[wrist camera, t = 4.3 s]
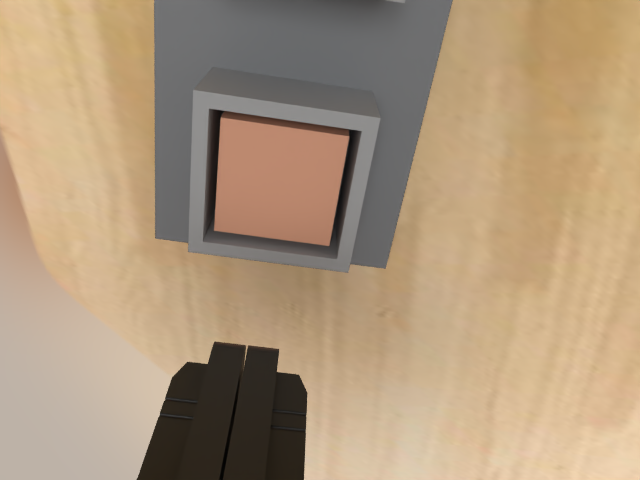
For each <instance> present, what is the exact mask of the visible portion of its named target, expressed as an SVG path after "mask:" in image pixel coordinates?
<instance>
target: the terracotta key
mask: <svg viewBox="0 0 640 480" xmlns="http://www.w3.org/2000/svg"><path fill="white" fill-rule="evenodd" d="M348 141H349V130H348V129H344V128H338V127H331V126H324V125H317V124H311V123H304V122H297V121H290V120H284V119H277V118H270V117H263V116H257V115H250V114H243V113H236V112H230V111H224V113H223V114H222V116H221V121H220V138H219V155H218V173H217V190H216V207H215V224H214V231H220V232H227V233H235V234H242V235H250V236H257V237H265V238H272V239H280V240H288V241H295V242H303V243H310V244H318V245H325V246H329V245H330V239H331V234H332V228H333V223H334V217H335V212H336V206H337V201H338V196H339V190H340V185H341V179H342V174H343V168H344V163H345V157H346V152H347V146H348Z"/></svg>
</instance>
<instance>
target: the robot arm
mask: <svg viewBox="0 0 640 480" xmlns="http://www.w3.org/2000/svg"><path fill="white" fill-rule="evenodd" d="M245 351H246V345H239V344H230V343H222V342H214V344H213V347H212V351H211V354H210V358H209V362H208V364H201V363H193V362H187V363H186V364H185V365H184V366H183V367H182V368H181V369H180V370H179V371H178V372H177V373H176V374H175V375H174V376H173V377H172V380H171V383H170V386H169V388H168V392H167V394H166V398H165V401H164V403H163V406H162V409H161V412H160V416H159V418H158V420H157V423H156V426H155V429H154V432H153V435H152V438H151V441H150V444H149V446H148V449H147V452H146V455H145V458H144V461H143V464H142V467H141V470H140V473H139V475H138V478H137V480H304V462H305V438H306V433H305V432H306V413H307V391H306V389H305V387H304V385H303V383H302V380H301V378H300V376H299V375H296V374H288V373H279V372H277V365H278V356H279V349H273V348H265V347H256V346H248V349H247V355H246V360H245ZM244 361H245V365H244Z"/></svg>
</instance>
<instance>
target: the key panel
mask: <svg viewBox="0 0 640 480" xmlns="http://www.w3.org/2000/svg"><path fill="white" fill-rule="evenodd" d="M451 4H452V0H154V36H155V238H156V239H163V240H171V241H178V242H186V243H188V252H193V253H200V254H208V255H216V256H224V257H231V258H239V259H247V260H254V261H262V262H270V263H277V264H285V265H293V266H301V267H308V268H316V269H324V270H331V271H339V272H347V273H348V271H349V267H350V264H354V265H362V266H369V267H377V268H384V269H386V265H387V261H388V257H389V253H390V249H391V245H392V241H393V237H394V233H395V229H396V225H397V221H398V217H399V213H400V209H401V205H402V201H403V197H404V193H405V189H406V185H407V181H408V177H409V173H410V169H411V165H412V161H413V157H414V153H415V149H416V145H417V141H418V137H419V133H420V129H421V125H422V121H423V117H424V113H425V109H426V105H427V101H428V97H429V93H430V89H431V85H432V81H433V77H434V73H435V69H436V65H437V61H438V57H439V53H440V49H441V44H442V40H443V36H444V32H445V28H446V24H447V20H448V16H449V12H450V8H451ZM224 111H230V112H236V113H243V114H250V115H257V116H263V117H270V118H277V119H284V120H290V121H297V122H304V123H311V124H317V125H324V126H331V127H338V128H344V129H348V130H349V141H348V146H347V152H346V157H345V163H344V168H343V174H342V179H341V185H340V190H339V196H338V201H337V206H336V212H335V217H334V223H333V228H332V234H331V239H330V245H329V246H325V245H318V244H310V243H303V242H295V241H288V240H280V239H272V238H265V237H257V236H250V235H242V234H235V233H227V232H220V231H214V224H215V207H216V190H217V173H218V155H219V138H220V121H221V116H222V114H223V113H224Z"/></svg>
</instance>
